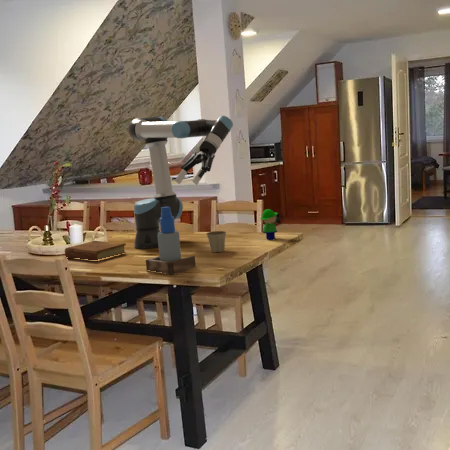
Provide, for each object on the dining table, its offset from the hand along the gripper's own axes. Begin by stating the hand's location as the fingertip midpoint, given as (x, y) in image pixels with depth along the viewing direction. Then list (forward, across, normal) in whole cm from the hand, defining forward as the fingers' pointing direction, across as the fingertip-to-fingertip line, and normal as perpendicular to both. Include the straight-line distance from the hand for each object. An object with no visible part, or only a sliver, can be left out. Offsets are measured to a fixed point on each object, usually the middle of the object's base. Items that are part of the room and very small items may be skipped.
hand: (185, 182), depth 266 cm
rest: (+37, -12, -10) cm, 40 cm away
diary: (+42, +45, -6) cm, 62 cm away
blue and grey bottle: (+36, -12, -10) cm, 40 cm away
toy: (-9, 0, -57) cm, 58 cm away
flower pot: (+14, 0, -34) cm, 37 cm away
